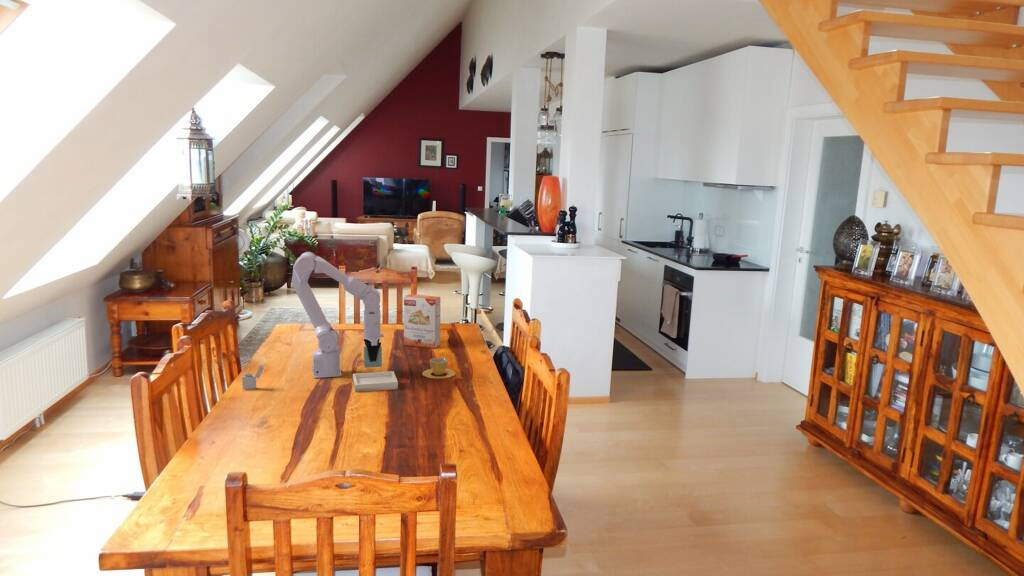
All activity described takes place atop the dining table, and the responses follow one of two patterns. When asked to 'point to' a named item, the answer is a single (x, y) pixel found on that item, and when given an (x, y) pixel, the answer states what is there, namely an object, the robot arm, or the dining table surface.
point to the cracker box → (422, 321)
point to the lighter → (251, 379)
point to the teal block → (376, 363)
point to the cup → (438, 369)
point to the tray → (375, 381)
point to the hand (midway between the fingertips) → (372, 359)
